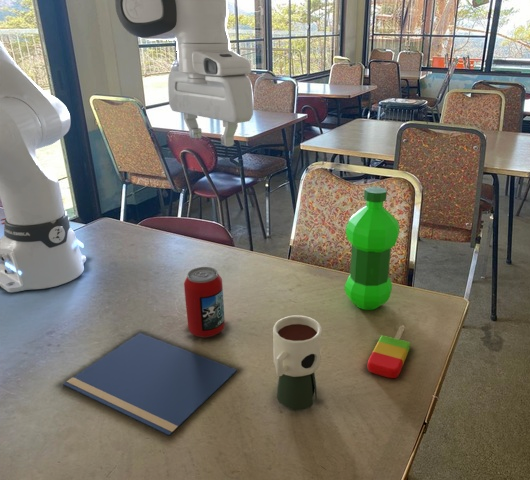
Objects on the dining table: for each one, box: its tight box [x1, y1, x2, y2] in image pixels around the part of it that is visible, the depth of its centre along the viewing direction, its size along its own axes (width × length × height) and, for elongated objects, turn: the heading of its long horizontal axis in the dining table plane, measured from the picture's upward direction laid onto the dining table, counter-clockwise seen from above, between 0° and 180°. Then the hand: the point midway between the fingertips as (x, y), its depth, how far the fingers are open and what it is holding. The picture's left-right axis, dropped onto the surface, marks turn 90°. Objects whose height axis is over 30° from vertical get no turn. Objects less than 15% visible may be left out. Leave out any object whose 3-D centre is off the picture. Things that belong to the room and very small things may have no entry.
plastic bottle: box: [344, 186, 400, 311], centre depth 96 cm, size 10×10×25 cm
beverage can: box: [183, 266, 226, 338], centre depth 88 cm, size 7×7×12 cm
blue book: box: [62, 332, 238, 436], centre depth 78 cm, size 22×16×1 cm
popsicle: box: [367, 324, 411, 379], centre depth 86 cm, size 6×15×2 cm, turn 157°
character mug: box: [272, 314, 323, 411], centre depth 72 cm, size 11×7×13 cm, turn 153°
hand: (211, 141), depth 88 cm, fingers open, 8 cm apart
